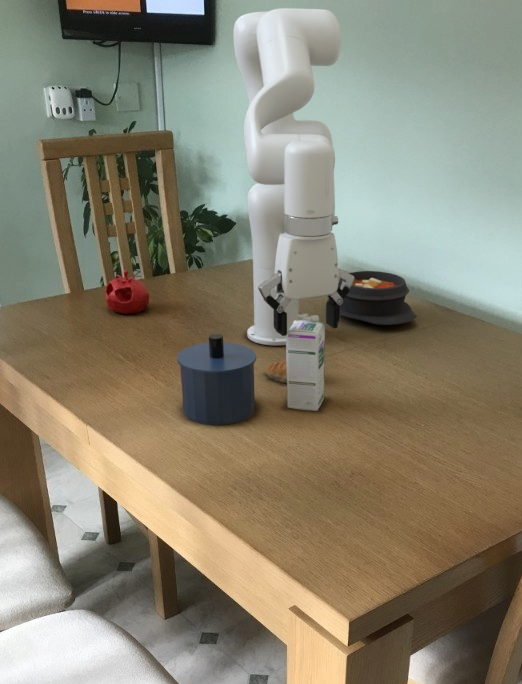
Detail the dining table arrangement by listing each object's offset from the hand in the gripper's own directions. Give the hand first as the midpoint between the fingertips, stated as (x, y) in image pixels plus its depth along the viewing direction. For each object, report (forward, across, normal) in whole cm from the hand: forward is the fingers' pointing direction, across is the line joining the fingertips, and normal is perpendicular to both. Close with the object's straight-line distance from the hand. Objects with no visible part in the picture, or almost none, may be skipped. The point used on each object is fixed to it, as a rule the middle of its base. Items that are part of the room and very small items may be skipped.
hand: (306, 329), depth 139 cm
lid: (+4, +15, -4) cm, 16 cm away
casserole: (+13, -36, -39) cm, 55 cm away
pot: (+14, +15, -5) cm, 21 cm away
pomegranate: (+13, +14, -65) cm, 67 cm away
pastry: (+14, -3, -12) cm, 18 cm away
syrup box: (+14, 0, -1) cm, 14 cm away
